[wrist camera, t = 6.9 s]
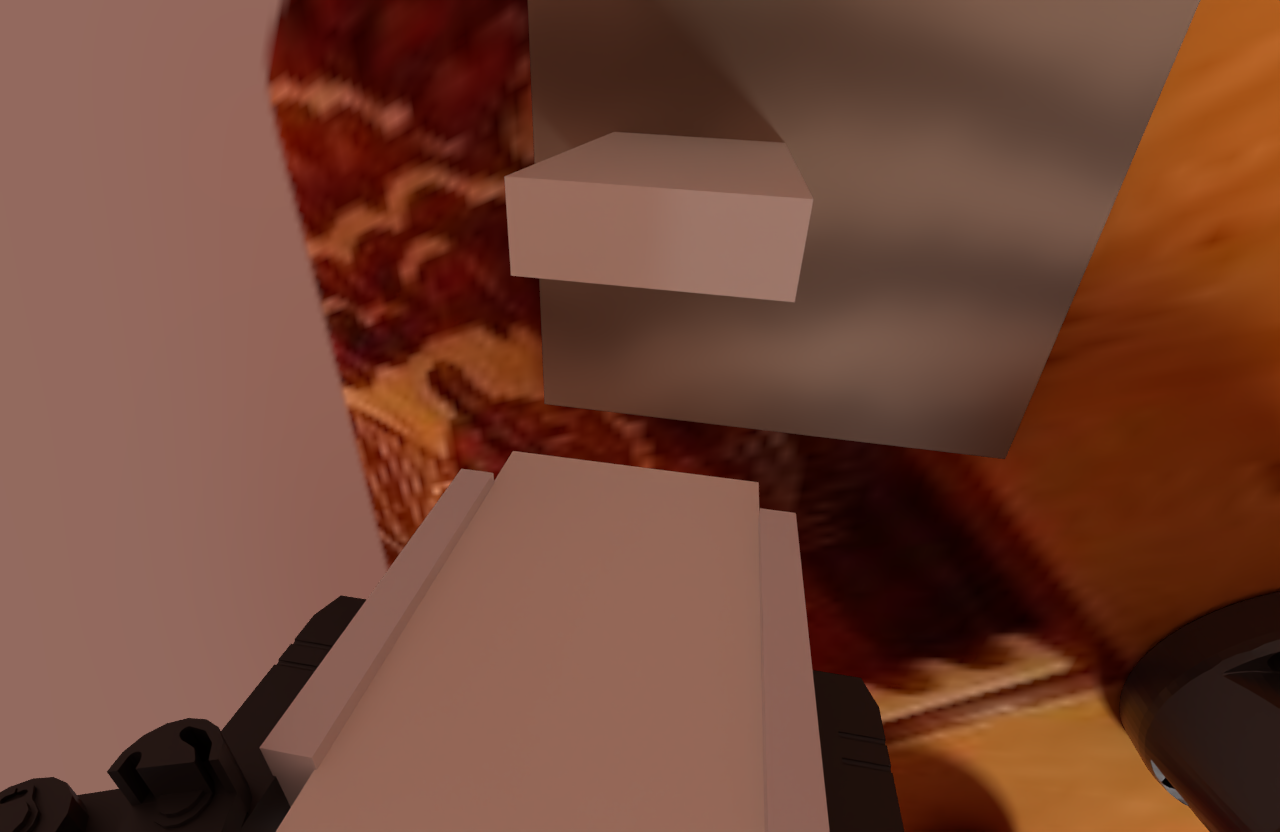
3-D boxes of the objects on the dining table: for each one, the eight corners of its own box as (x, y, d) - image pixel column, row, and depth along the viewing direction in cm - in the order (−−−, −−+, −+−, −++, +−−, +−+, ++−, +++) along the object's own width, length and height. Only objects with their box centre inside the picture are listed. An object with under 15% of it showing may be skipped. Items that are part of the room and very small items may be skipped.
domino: (775, 203, 22) (794, 302, 12) (612, 191, 22) (510, 275, 13) (785, 142, 20) (813, 199, 11) (614, 132, 21) (504, 176, 12)
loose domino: (747, 546, 15) (744, 1343, 6) (517, 514, 16) (171, 1176, 6) (758, 482, 14) (777, 1325, 5) (513, 450, 15) (91, 1127, 5)
